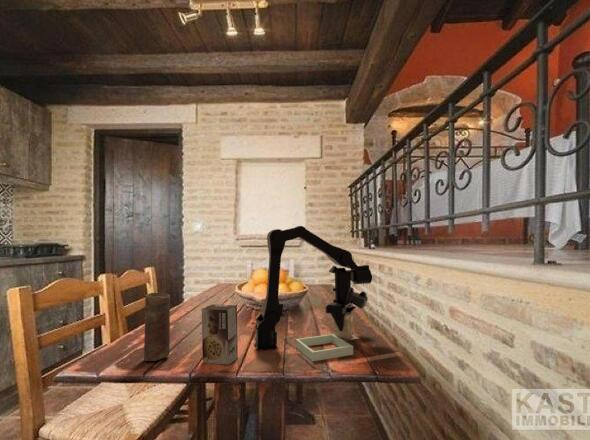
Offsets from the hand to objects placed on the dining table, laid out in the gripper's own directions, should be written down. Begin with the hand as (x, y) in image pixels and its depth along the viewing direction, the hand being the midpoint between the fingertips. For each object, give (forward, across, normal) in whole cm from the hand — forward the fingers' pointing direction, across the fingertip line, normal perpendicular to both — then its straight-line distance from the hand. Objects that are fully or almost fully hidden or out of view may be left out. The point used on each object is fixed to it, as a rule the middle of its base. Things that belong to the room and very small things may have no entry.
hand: (343, 328), depth 120 cm
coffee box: (+4, -35, +27) cm, 44 cm away
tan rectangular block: (+2, 0, 0) cm, 2 cm away
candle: (+4, -43, +45) cm, 63 cm away
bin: (+4, -16, +1) cm, 17 cm away
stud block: (+4, 0, 0) cm, 4 cm away
